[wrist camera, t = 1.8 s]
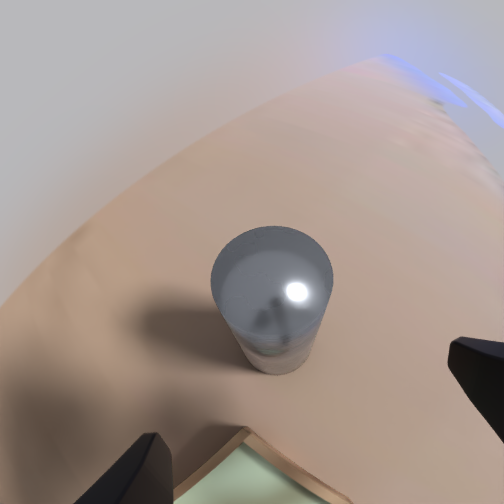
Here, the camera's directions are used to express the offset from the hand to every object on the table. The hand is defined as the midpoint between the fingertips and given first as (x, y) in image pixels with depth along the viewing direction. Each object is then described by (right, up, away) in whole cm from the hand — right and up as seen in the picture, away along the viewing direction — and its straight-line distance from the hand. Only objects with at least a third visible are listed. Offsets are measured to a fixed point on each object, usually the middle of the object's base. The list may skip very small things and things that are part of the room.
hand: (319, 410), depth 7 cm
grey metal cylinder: (0, -2, +13) cm, 13 cm away
